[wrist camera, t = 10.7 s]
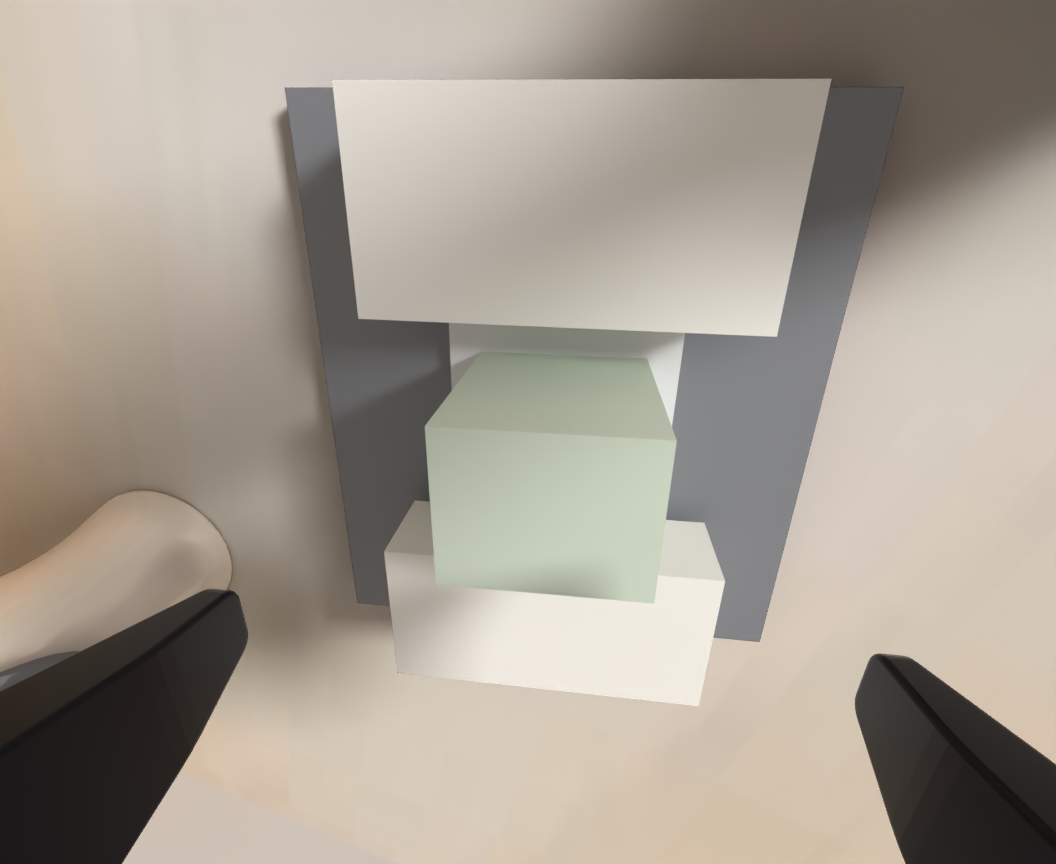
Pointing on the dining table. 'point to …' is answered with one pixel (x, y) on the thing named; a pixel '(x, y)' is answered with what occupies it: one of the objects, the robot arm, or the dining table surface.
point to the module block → (551, 476)
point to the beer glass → (106, 580)
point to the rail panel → (715, 385)
